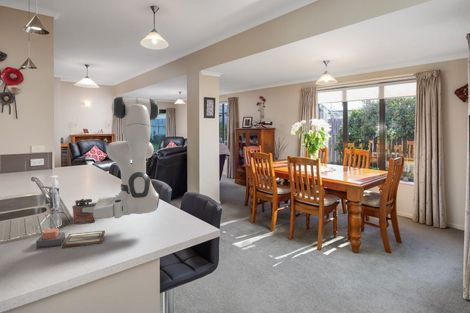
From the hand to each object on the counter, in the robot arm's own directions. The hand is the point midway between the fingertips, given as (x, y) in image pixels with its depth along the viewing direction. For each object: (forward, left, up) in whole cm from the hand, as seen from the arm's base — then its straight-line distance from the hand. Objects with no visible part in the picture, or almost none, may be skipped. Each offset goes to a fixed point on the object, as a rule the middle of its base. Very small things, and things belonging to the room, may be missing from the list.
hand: (83, 208), depth 116 cm
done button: (0, -12, -11) cm, 16 cm away
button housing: (0, -12, -14) cm, 18 cm away
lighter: (0, 0, -6) cm, 7 cm away
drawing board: (0, 0, -14) cm, 14 cm away
